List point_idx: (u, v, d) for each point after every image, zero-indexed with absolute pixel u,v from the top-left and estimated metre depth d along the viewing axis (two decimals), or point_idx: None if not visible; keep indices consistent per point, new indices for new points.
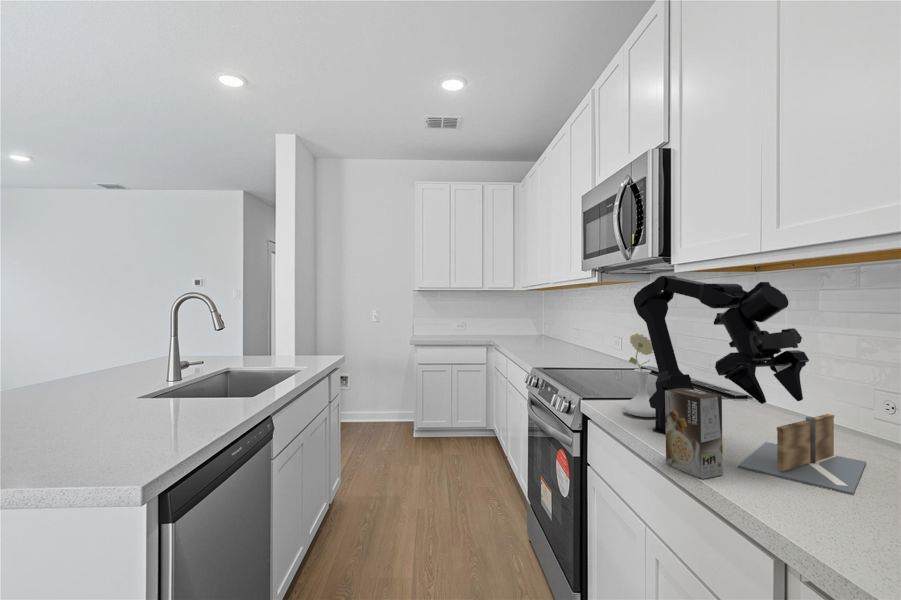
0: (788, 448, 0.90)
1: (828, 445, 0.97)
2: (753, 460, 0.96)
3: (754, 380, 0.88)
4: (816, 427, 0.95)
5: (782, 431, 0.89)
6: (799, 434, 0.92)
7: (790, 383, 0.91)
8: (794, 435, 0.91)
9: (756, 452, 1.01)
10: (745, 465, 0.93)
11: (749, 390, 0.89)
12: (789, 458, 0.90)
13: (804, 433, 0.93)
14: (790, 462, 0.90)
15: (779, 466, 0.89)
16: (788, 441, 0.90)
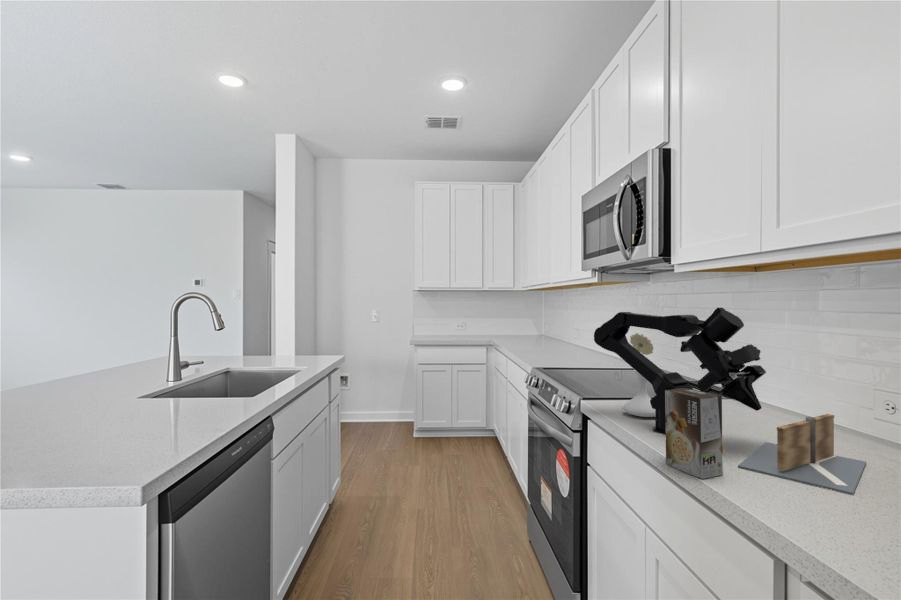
0: (788, 448, 0.90)
1: (828, 445, 0.97)
2: (753, 460, 0.96)
3: (746, 390, 1.01)
4: (816, 427, 0.95)
5: (782, 431, 0.89)
6: (799, 434, 0.92)
7: None
8: (794, 435, 0.91)
9: (756, 452, 1.01)
10: (745, 465, 0.93)
11: (743, 400, 1.01)
12: (789, 458, 0.90)
13: (804, 433, 0.93)
14: (790, 462, 0.90)
15: (779, 466, 0.89)
16: (788, 441, 0.90)
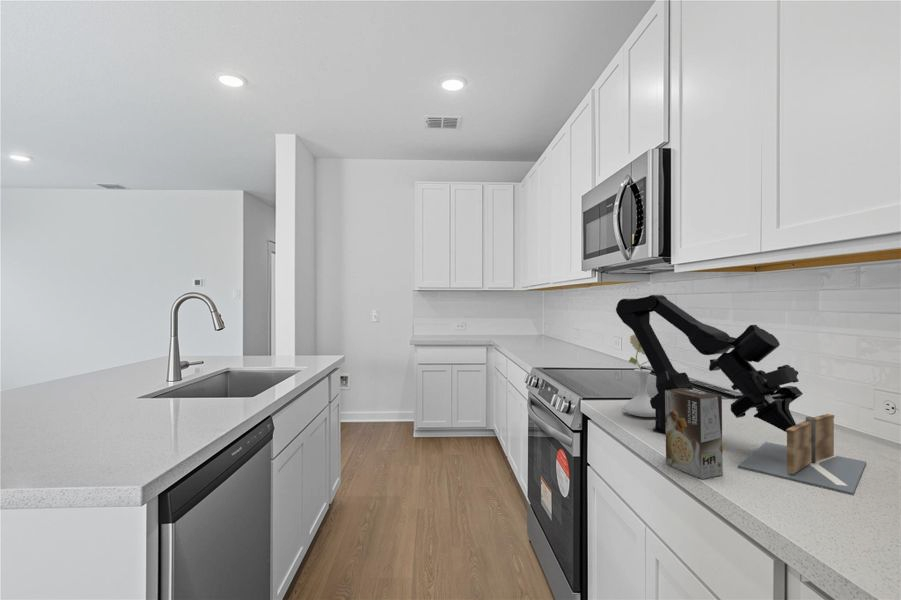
0: (796, 450, 0.89)
1: (828, 445, 0.97)
2: (753, 460, 0.96)
3: (783, 415, 0.94)
4: (816, 427, 0.95)
5: (792, 433, 0.87)
6: (804, 435, 0.91)
7: None
8: (800, 436, 0.90)
9: (756, 452, 1.01)
10: (745, 465, 0.93)
11: (780, 425, 0.94)
12: (797, 460, 0.89)
13: (807, 434, 0.92)
14: (798, 464, 0.89)
15: (788, 469, 0.88)
16: (796, 443, 0.89)
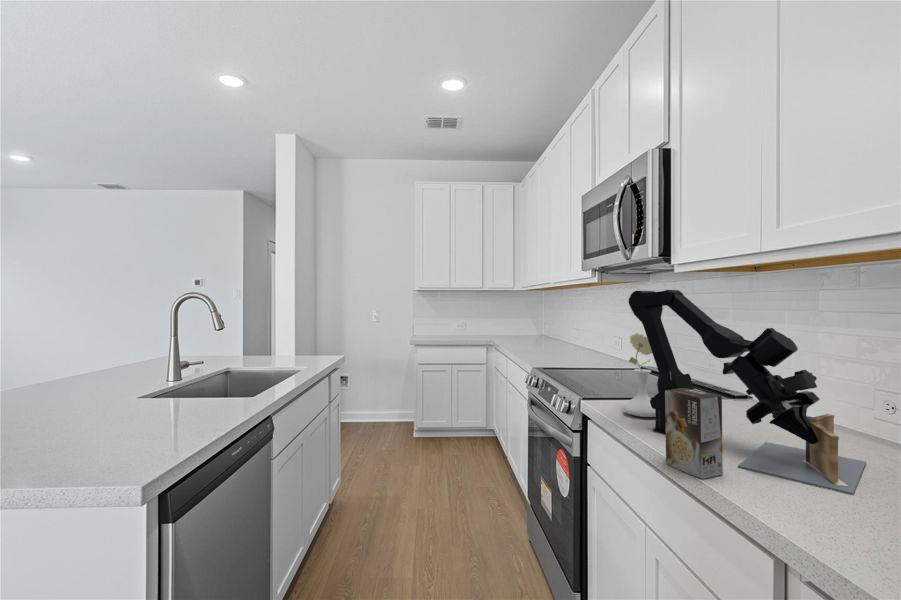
0: None
1: None
2: (753, 460, 0.96)
3: (801, 421, 0.91)
4: None
5: (837, 439, 0.83)
6: None
7: None
8: None
9: (756, 452, 1.01)
10: (745, 465, 0.93)
11: (797, 432, 0.91)
12: None
13: None
14: None
15: (833, 478, 0.84)
16: None
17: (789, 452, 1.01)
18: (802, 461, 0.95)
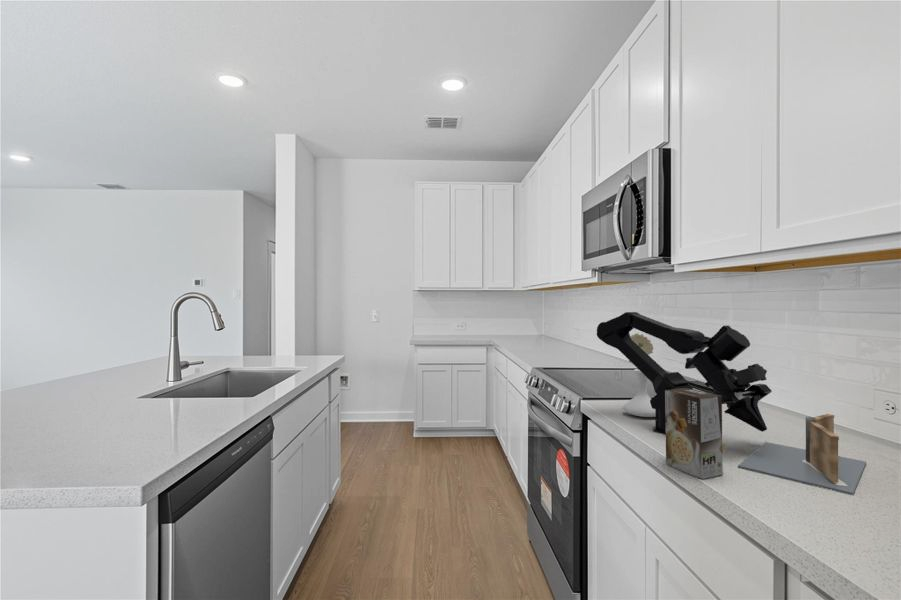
0: None
1: None
2: (753, 460, 0.96)
3: (752, 411, 0.99)
4: None
5: (837, 439, 0.83)
6: None
7: None
8: None
9: (756, 452, 1.01)
10: (745, 465, 0.93)
11: (749, 421, 1.00)
12: None
13: None
14: None
15: (833, 478, 0.84)
16: None
17: (789, 452, 1.01)
18: (802, 461, 0.95)
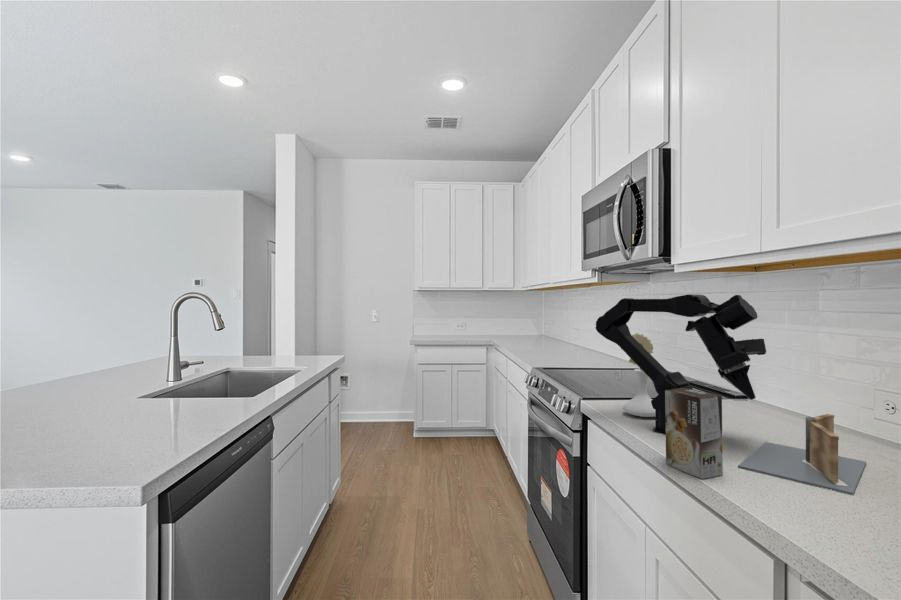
0: None
1: None
2: (753, 460, 0.96)
3: None
4: None
5: (837, 439, 0.83)
6: None
7: None
8: None
9: (756, 452, 1.01)
10: (745, 465, 0.93)
11: (742, 387, 1.03)
12: None
13: None
14: None
15: (833, 478, 0.84)
16: None
17: (789, 452, 1.01)
18: (802, 461, 0.95)
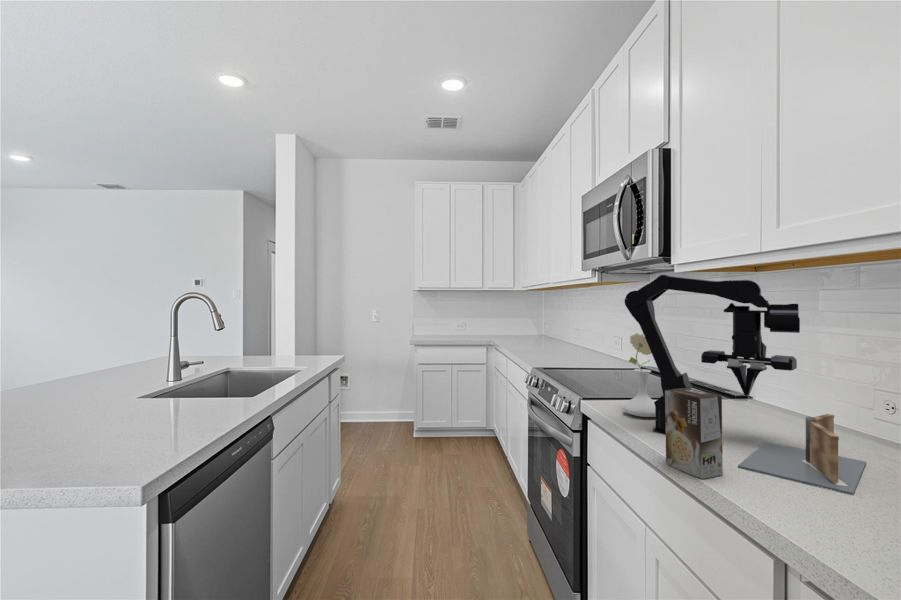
0: None
1: None
2: (753, 460, 0.96)
3: None
4: None
5: (837, 439, 0.83)
6: None
7: (745, 379, 1.08)
8: None
9: (756, 452, 1.01)
10: (745, 465, 0.93)
11: (752, 384, 1.07)
12: None
13: None
14: None
15: (833, 478, 0.84)
16: None
17: (789, 452, 1.01)
18: (802, 461, 0.95)
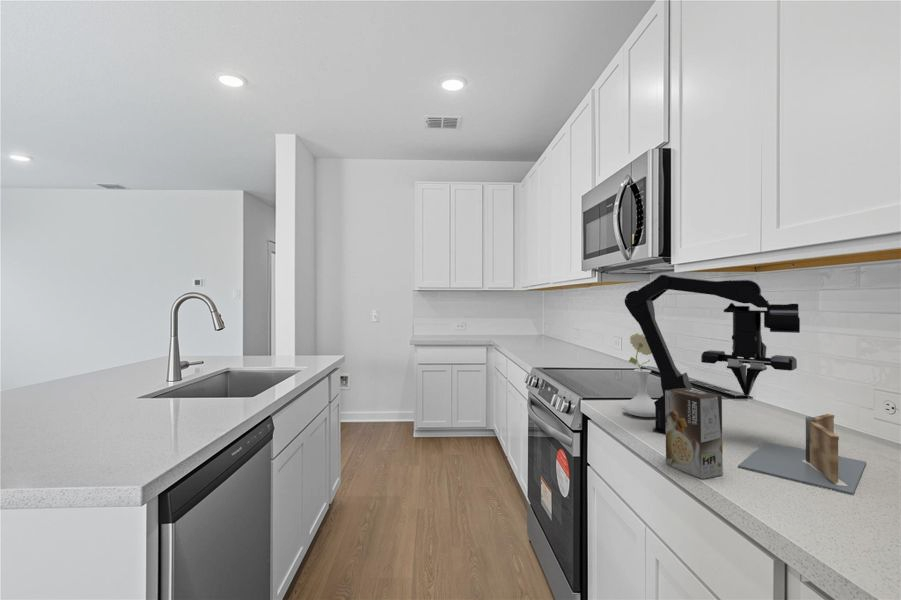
0: None
1: None
2: (753, 460, 0.96)
3: None
4: None
5: (837, 439, 0.83)
6: None
7: (745, 379, 1.08)
8: None
9: (756, 452, 1.01)
10: (745, 465, 0.93)
11: (752, 384, 1.07)
12: None
13: None
14: None
15: (833, 478, 0.84)
16: None
17: (789, 452, 1.01)
18: (802, 461, 0.95)
